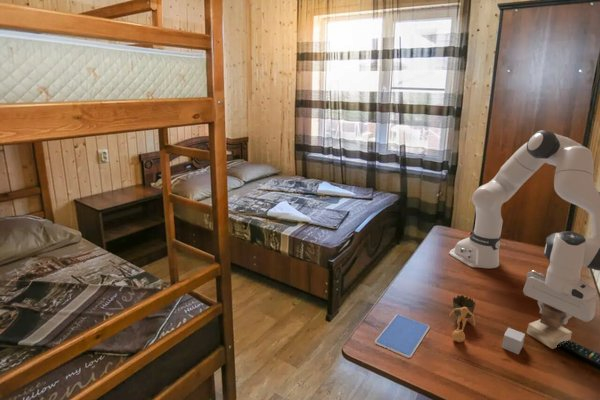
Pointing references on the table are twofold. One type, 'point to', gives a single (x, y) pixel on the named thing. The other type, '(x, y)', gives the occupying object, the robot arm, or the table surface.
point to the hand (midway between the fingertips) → (552, 318)
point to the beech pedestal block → (548, 334)
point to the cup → (463, 305)
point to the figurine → (459, 334)
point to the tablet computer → (402, 335)
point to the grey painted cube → (513, 340)
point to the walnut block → (552, 317)
